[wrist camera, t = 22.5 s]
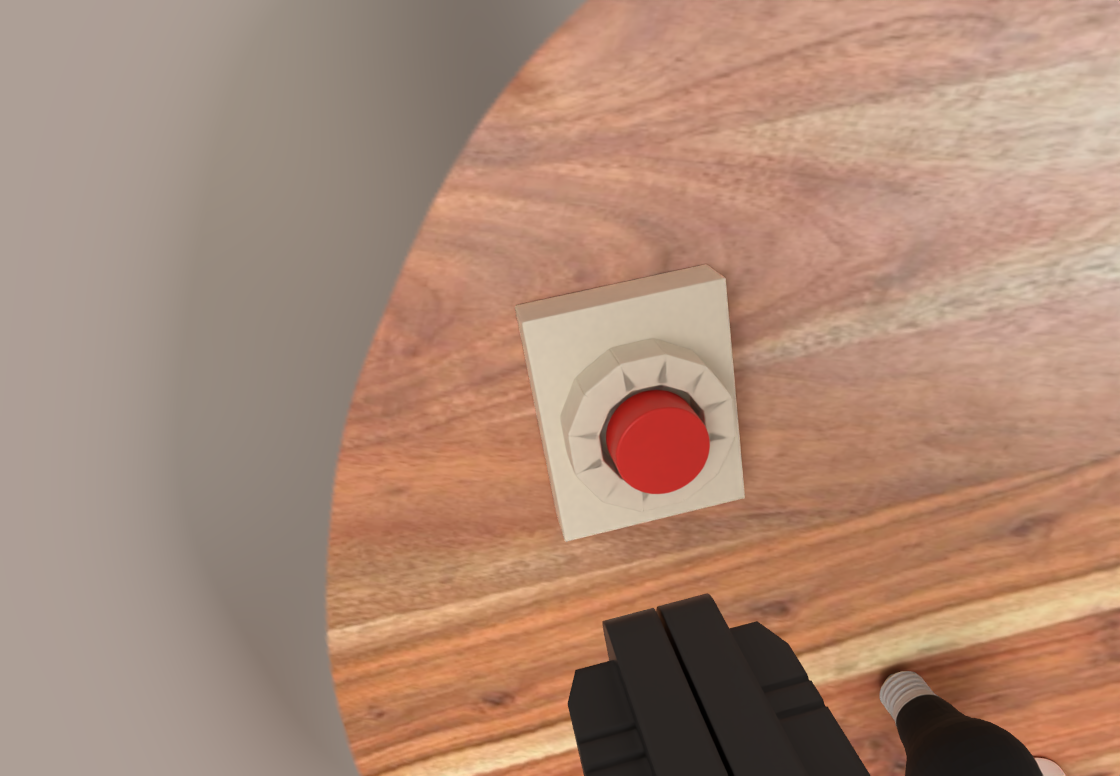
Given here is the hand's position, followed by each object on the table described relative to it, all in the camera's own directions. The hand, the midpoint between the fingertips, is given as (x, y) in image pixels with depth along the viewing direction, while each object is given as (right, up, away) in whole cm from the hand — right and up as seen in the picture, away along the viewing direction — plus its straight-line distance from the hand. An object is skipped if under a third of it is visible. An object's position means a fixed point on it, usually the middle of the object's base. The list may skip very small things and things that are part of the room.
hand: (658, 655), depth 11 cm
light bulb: (+16, -12, +33) cm, 39 cm away
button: (+2, +2, +21) cm, 21 cm away
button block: (+2, +3, +24) cm, 24 cm away
